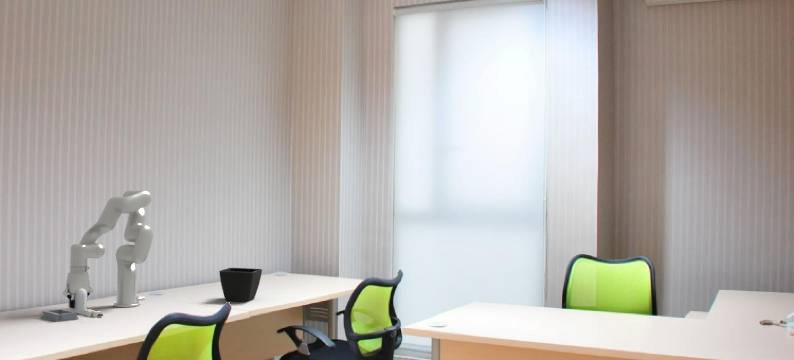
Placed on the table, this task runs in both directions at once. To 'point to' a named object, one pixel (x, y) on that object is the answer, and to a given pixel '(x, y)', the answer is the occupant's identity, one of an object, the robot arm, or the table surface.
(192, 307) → the table surface
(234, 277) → the flower pot
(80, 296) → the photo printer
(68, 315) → the end holder
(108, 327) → the table surface
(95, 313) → the white cube chain
